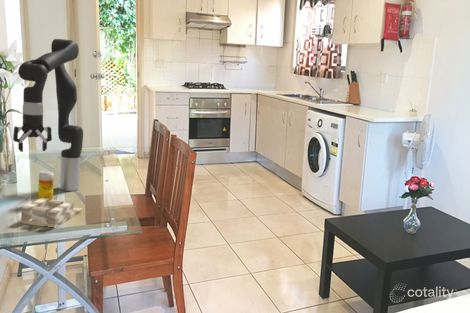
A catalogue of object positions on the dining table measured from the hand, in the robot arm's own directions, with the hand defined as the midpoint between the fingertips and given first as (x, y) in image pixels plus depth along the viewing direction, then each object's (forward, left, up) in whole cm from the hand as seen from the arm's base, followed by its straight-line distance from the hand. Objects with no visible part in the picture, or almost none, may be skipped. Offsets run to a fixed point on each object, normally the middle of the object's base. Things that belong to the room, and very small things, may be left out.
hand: (32, 151), depth 171 cm
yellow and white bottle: (-9, +1, -26) cm, 28 cm away
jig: (+5, +13, -26) cm, 29 cm away
